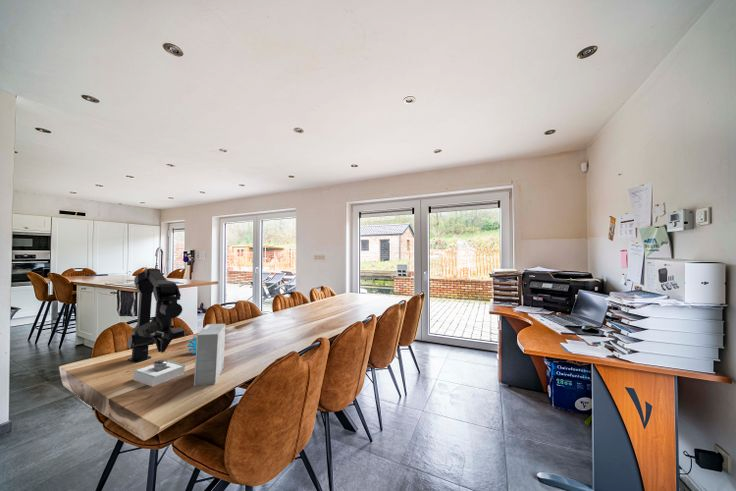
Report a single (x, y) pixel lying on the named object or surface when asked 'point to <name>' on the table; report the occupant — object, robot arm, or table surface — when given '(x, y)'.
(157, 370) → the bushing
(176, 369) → the jig
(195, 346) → the gear
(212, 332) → the hard drive box
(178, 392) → the table surface
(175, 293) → the robot arm
